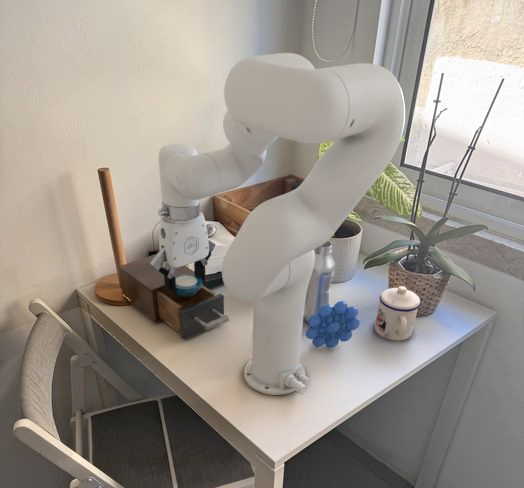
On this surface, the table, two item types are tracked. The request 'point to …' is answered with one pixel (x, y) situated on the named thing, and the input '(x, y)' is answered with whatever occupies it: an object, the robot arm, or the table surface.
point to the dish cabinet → (145, 285)
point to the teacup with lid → (396, 313)
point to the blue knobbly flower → (332, 324)
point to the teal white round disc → (187, 284)
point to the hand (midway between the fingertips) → (185, 285)
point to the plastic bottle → (319, 281)
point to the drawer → (191, 311)
